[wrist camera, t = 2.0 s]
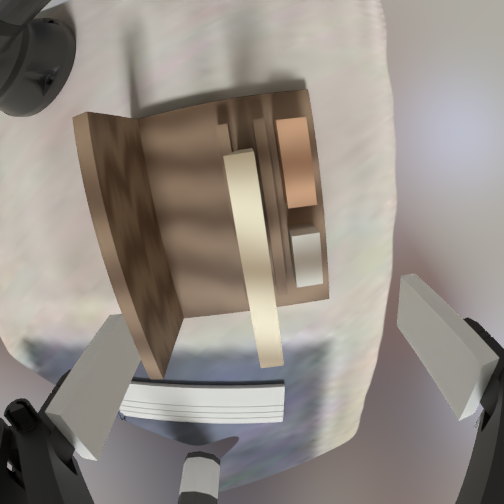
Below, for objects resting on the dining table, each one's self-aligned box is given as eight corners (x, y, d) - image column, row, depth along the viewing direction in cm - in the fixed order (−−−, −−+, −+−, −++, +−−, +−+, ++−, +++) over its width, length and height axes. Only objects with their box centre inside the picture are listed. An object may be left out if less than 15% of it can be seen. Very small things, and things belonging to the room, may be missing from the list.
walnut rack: (131, 123, 32) (72, 117, 19) (305, 91, 31) (337, 63, 18) (175, 313, 41) (150, 379, 28) (326, 293, 40) (355, 356, 27)
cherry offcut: (272, 123, 31) (275, 120, 27) (299, 120, 31) (306, 117, 27) (283, 201, 34) (288, 208, 30) (309, 197, 34) (317, 204, 30)
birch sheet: (237, 150, 32) (223, 156, 15) (251, 148, 32) (253, 151, 15) (256, 266, 37) (260, 368, 20) (269, 265, 37) (283, 365, 20)
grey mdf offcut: (287, 226, 35) (291, 236, 31) (312, 222, 35) (319, 232, 31) (292, 272, 37) (296, 287, 33) (316, 269, 37) (323, 283, 33)
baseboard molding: (281, 422, 50) (283, 380, 46) (283, 433, 48) (285, 392, 43) (127, 416, 50) (108, 375, 46) (123, 426, 48) (103, 385, 44)
